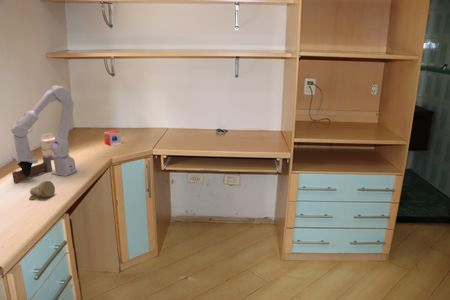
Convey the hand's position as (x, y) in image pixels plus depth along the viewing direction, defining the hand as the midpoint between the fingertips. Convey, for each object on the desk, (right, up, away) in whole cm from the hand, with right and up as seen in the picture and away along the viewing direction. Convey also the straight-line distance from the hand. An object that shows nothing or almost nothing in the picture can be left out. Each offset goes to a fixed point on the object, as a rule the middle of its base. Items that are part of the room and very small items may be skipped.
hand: (27, 175), depth 176 cm
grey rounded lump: (+16, -8, -18) cm, 26 cm away
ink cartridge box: (-4, +7, +33) cm, 34 cm away
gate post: (+4, +1, +13) cm, 13 cm away
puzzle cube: (+22, +16, +62) cm, 68 cm away
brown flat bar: (0, -1, +4) cm, 4 cm away
